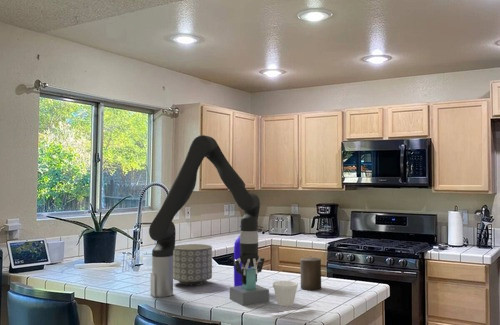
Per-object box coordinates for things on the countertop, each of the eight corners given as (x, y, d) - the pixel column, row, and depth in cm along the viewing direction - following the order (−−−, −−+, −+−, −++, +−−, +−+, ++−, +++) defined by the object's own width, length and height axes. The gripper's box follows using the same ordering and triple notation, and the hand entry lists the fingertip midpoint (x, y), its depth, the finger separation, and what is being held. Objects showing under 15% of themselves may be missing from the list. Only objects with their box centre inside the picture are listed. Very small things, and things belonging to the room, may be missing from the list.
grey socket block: (242, 308, 188) (242, 292, 188) (229, 301, 198) (229, 287, 199) (269, 304, 193) (269, 289, 194) (254, 298, 204) (254, 284, 204)
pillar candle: (324, 290, 218) (323, 257, 219) (303, 291, 217) (303, 257, 218) (317, 285, 228) (317, 254, 229) (297, 286, 226) (297, 254, 227)
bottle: (234, 289, 220) (234, 224, 221) (252, 289, 220) (252, 224, 221) (233, 293, 212) (233, 226, 213) (252, 293, 212) (251, 226, 213)
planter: (191, 278, 246) (191, 243, 247) (219, 282, 235) (219, 245, 236) (164, 284, 231) (164, 247, 232) (193, 289, 220) (194, 250, 221)
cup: (269, 308, 187) (269, 284, 187) (277, 302, 196) (277, 280, 197) (294, 311, 184) (293, 286, 184) (300, 304, 193) (300, 281, 193)
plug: (247, 300, 193) (247, 270, 194) (242, 298, 197) (242, 268, 197) (255, 299, 195) (255, 269, 196) (251, 297, 199) (251, 268, 199)
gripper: (237, 243, 190) (237, 287, 189) (268, 241, 197) (268, 283, 196) (229, 241, 197) (229, 283, 196) (259, 239, 204) (259, 280, 203)
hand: (249, 283), depth 196 cm, fingers closed on plug, 4 cm apart
